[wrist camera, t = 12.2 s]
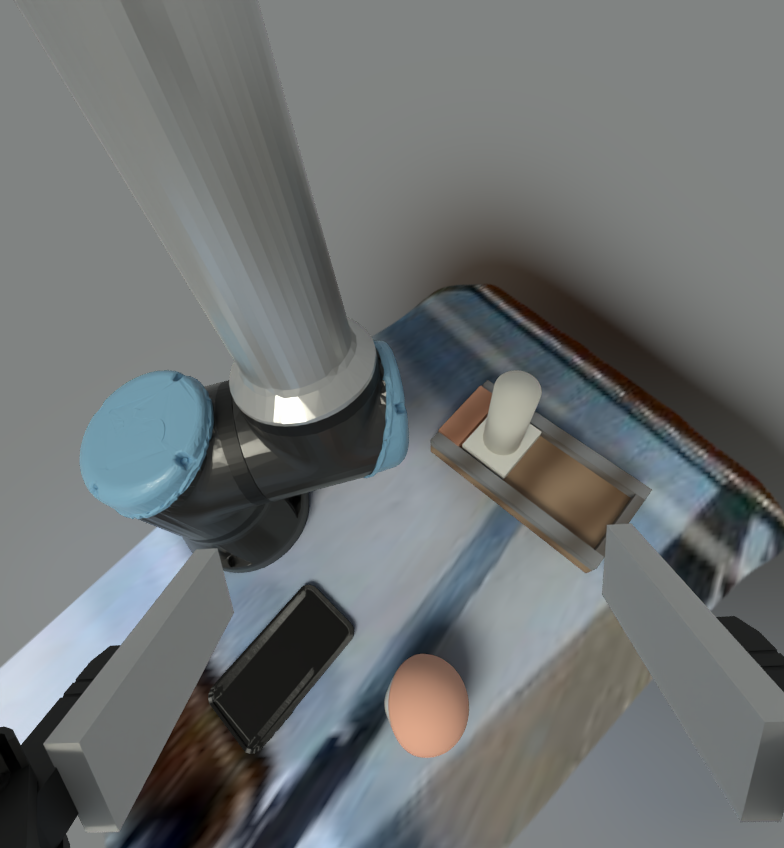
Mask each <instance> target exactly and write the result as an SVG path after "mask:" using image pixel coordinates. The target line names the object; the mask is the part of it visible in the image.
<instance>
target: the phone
mask: <svg viewBox="0 0 784 848" xmlns="http://www.w3.org/2000/svg"><path fill="white" fill-rule="evenodd" d="M353 636H354V628H353V625H352V624H351V623H350V622H349V621H348V620H347V619H346V618H345V617H344V616H343V615H342V613H341V612H340V611H339V610H338V609H337V608H336V607H335V606H334V605H333V604H332V603H331V602H330V601H329V600H328V599H327V598H326V597H325V596H324V595H323V594H322V593H321V592H320V591H319V590H318V589H317V588H316V587H315V586H312V585H305V586H303V587H302V588H301V589H300V590H299V591H298V592H297V593H296V594H295V595H294V597H293V598H292V599H291V600H290V601H289V602H288V603H287V604H286V605H285V607H284V608H283V609H282V610H281V611H280V612H279V613H278V614H277V615H276V617H275V618H274V619H273V620H272V621H271V622H270V623H269V624H268V625H267V627H266V628H265V629H264V630H263V631H262V632H261V633H260V634H259V635H258V637H257V638H256V639H255V640H254V641H253V642H252V643H251V644H250V645H249V647H248V648H247V649H246V650H245V651H244V652H243V653H242V654H241V655H240V657H239V658H238V659H237V660H236V661H235V662H234V663H233V664H232V665H231V667H230V668H229V669H228V670H227V671H226V672H225V673H224V674H223V675H222V677H221V678H220V679H219V680H218V681H217V682H216V683H215V684H214V685H213V687H212V688H211V690H210V692H209V696H208V700H209V703H210V705H211V707H212V708H213V709H214V711H215V712H216V713H217V715H218V716H219V717H220V719H221V720H222V721H223V723H224V724H225V725H226V727H227V728H228V729H229V731H230V732H231V734H232V735H233V736H234V738H235V739H236V740H237V742H238V743H239V744H240V746H241V747H242V748H243V750H244V751H245V752H247V753H249V754H252V753H255V752H257V751H259V750H260V749H261V748H263V746H264V745H265V744H266V743H267V742H268V741H269V740H270V739H271V738H272V736H273V734H274V733H275V732H276V731H278V729H279V728H280V727H281V726H282V725H283V723H284V721H285V720H287V719H288V718H289V716H290V715H291V714H292V713H293V712H292V711H293V710H294V709H295V708H296V706H297V705H298V704H299V703H300V702H301V700H302V699H303V698H304V697H305V696H306V694H307V693H308V692H309V691H310V689H311V688H312V687H313V686H314V685H315V683H316V682H317V681H318V680H319V679H320V677H321V676H322V675H323V674H324V673H325V671H326V670H327V669H328V668H329V666H330V665H331V664H332V663H333V662H334V660H335V659H336V658H337V657H338V656H339V654H340V653H341V652H342V651H343V649H344V648H345V647H346V646H347V645H348V643H349V642H350V641H351V640H352V638H353Z"/></svg>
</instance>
